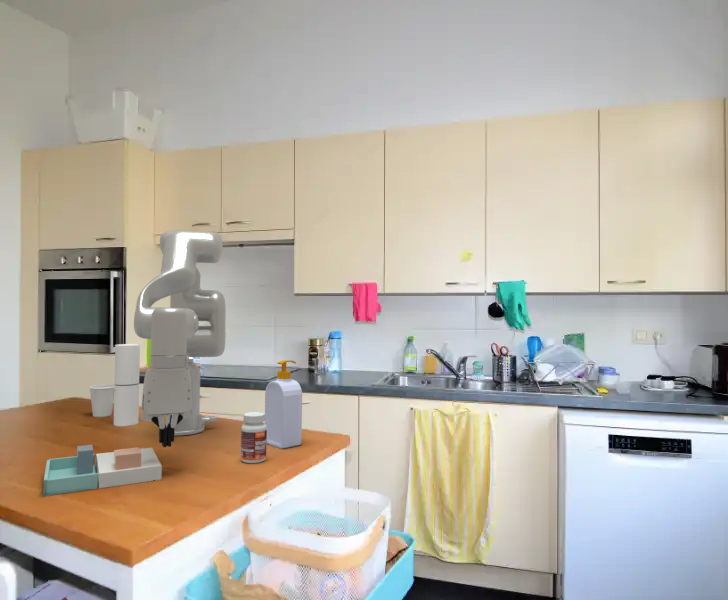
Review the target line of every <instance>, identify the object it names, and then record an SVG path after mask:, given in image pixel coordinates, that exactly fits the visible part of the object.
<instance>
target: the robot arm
mask: <svg viewBox="0 0 728 600" xmlns="http://www.w3.org/2000/svg"><path fill="white" fill-rule="evenodd" d="M159 246H160V250H161V253H162V259H161V260H162V261H161V265H160V266H161V268H160V273H159V274H158V275H157V276H155V277H154V278H152V279H151V280H150V281H149V282H148V283H147V284H146V285H145V286H144V287H143V288H142V289H141V290H140V292H139V294H138V296H137V299H136V304H135V310H134V315H133V316H134V317H133V330H134V332H135V335H136V336H137V337H139V338H140V339H145V340H150V355H149V356H150V357H149V358H150V360H149V361H150V364H149V368H148V369H147V368H146V370H145V374H144V378H143V379H144V380H143V387H142V398H141V409H142V413H141V416H140V419H141V421H142V422H143V421H144V422H150V423H153V424H155V426H157V427H158V429H159V431H158V442H159V444H161V445H162V447H163V448H166V447H169V448H172V442H175V437H176V436H188V435H189V436H190V435H195V434H199V433H201V432H204V431H205V425H206V424H213V423H214V424H215V423H216V422H217V421H216V420H217V419H216V416H214V415H212V416H209V415H205V416H203V415H202V414H200V413H201V412H200V407H201V406H200V404H201V402H200V401H201V371H200V369H199V367H198V365H197V364H196V363H195V362H194V358H195V359H196V358H217V357H220V356H223V354H224V352H225V347H226V299H225V297H224V296H225V295H224V294H223V293H222V292H221V291H218V290H212V289H211V290H210V289H201V272H200V270H199V268H198V267H197V263H199V264H200V263H201V264H217V263H218V262H220V259H221V258H222V254H223V250H224V249H223V248H224V247H223V246H224V245H223V239H222V237H221V235H220V234H219V233H218V232H216V231H197V230H196V231H194V230H180V229H179V230H177V229H176V230H168V231H164V232H162V234H160V237H159ZM167 297H170V298H169V307H160V306H159V307H158V306H154V307H153V305H154V304H155V303H157V302H158V301H160V300H162V299H165V298H167ZM200 322H208V323H209V324H210V325H200Z"/></svg>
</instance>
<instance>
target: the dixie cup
mask: <svg viewBox="0 0 728 600" xmlns="http://www.w3.org/2000/svg"><path fill="white" fill-rule="evenodd" d="M114 385H115V383H114V384H112V383H103V384H94V385H93V384H92V385H90V386H88V388H89V392H90V402H91V403H90V404H91V409H92V410H91V411H92V417H95V418H105V417H111V416H112V415H113V409H114Z"/></svg>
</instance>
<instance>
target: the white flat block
mask: <svg viewBox="0 0 728 600" xmlns="http://www.w3.org/2000/svg"><path fill="white" fill-rule="evenodd" d="M139 449H140V451H141V467H137V468H129V469H121V470H115V467H114V451H111V452H102V453H96V454H95V471H96V473H98V483H97V486H98V489H104V488H111V487H119V486H125V485H130V484H131V485H132V484H139V483H140V482H141V483H146V482H147V481H148V482H152V481H153V480H155V481H161V480H162V474H163V473H162V468H163V466H162V464H161V462H160V459H158V456H157V454H156V453H155V451H154V448H153V447H146V448H139Z"/></svg>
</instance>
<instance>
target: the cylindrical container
mask: <svg viewBox="0 0 728 600" xmlns="http://www.w3.org/2000/svg"><path fill="white" fill-rule="evenodd" d="M114 346H115V348H114V352H115V353H114V402H113V426H115V427H129V426H135V425H137V424H139V411H140V410H139V409H140V408H139V407H140V369H141V368H140V365H141V364H140V362H141V358H140V357H141V355H140V354H141V344H139V343H126V344H125V343H121V344H115V345H114Z"/></svg>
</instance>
